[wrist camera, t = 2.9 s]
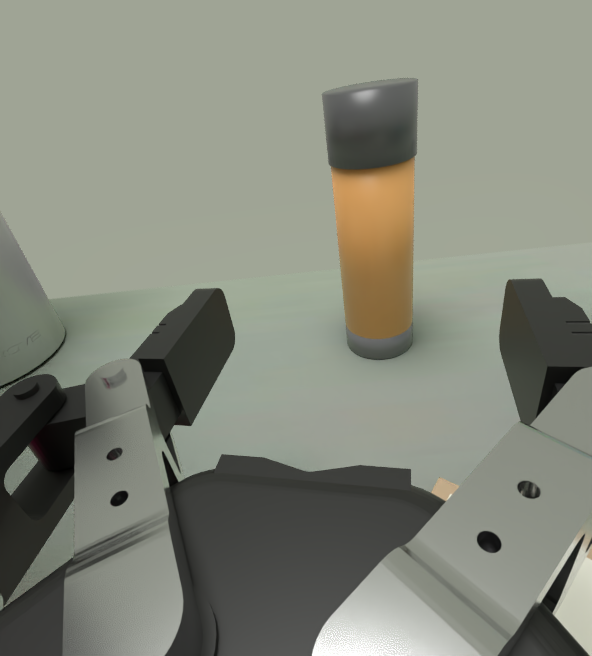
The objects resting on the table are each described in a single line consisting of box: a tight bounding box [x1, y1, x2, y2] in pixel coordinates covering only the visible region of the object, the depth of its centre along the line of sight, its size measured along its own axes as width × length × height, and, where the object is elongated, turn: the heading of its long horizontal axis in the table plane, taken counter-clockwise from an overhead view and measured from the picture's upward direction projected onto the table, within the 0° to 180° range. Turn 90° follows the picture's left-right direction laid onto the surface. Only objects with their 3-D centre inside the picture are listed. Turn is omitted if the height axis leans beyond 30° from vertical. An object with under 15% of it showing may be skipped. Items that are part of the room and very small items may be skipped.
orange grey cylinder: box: [322, 78, 418, 359], centre depth 23 cm, size 4×4×14 cm
